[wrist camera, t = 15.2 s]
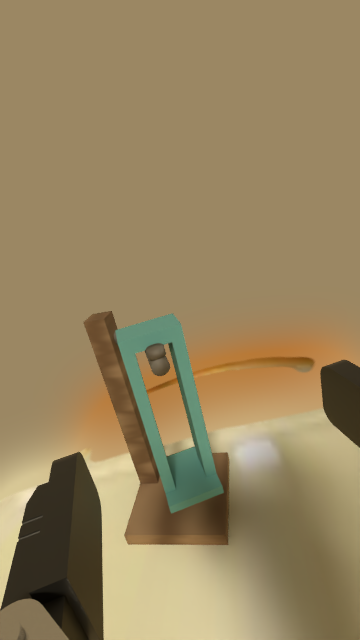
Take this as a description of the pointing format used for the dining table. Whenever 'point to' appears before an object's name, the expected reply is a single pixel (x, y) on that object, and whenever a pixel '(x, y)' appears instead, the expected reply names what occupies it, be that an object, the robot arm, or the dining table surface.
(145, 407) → the teal loop
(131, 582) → the dining table surface
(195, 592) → the dining table surface
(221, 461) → the hook stand
